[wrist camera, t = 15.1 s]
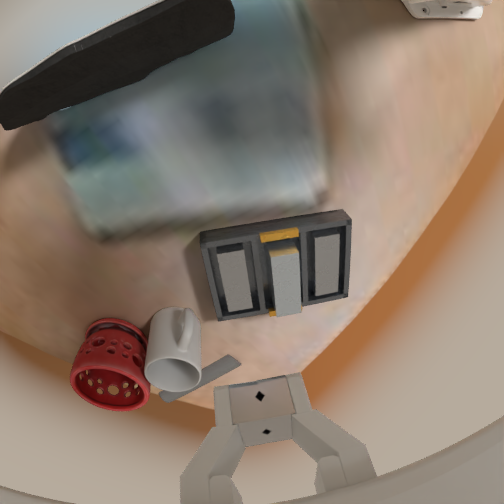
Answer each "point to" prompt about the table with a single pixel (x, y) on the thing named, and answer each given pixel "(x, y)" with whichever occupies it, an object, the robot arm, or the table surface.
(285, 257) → the grey rectangular block
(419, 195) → the table surface
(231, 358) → the half round rod
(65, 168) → the table surface
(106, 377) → the plant pot
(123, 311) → the table surface
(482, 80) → the table surface
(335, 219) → the rack
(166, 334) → the mug
